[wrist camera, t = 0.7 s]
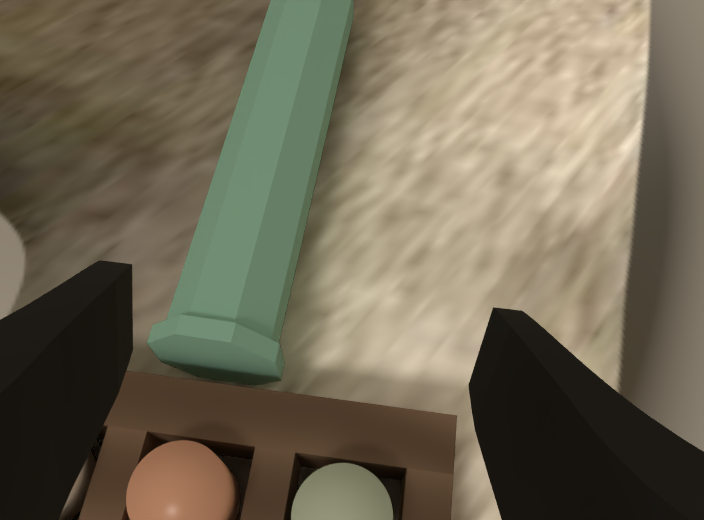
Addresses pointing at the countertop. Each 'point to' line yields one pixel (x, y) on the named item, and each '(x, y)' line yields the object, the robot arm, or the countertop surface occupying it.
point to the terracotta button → (182, 485)
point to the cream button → (79, 490)
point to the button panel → (273, 443)
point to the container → (258, 201)
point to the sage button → (342, 495)
